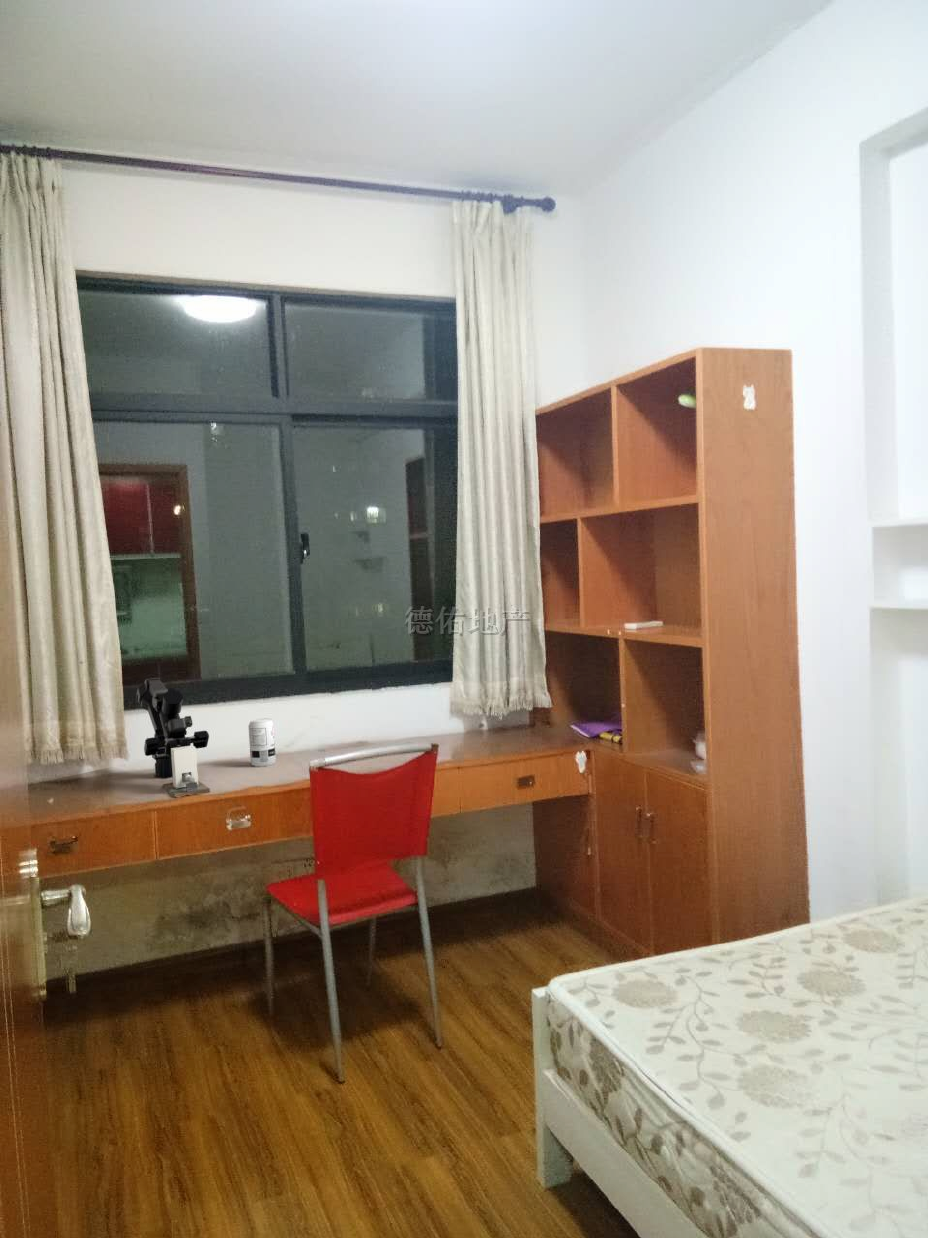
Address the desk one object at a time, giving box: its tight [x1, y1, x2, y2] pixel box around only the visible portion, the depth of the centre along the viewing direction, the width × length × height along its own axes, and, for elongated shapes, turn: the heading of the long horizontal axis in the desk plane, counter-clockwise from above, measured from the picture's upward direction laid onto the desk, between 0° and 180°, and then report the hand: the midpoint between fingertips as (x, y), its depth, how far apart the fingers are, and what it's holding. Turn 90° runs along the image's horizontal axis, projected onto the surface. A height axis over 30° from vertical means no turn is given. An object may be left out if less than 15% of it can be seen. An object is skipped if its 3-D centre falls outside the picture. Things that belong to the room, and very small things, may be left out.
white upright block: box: [171, 744, 199, 788], centre depth 263 cm, size 4×6×11 cm, turn 121°
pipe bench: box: [162, 773, 211, 798], centre depth 264 cm, size 17×10×5 cm, turn 31°
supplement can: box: [247, 718, 277, 768], centre depth 294 cm, size 8×8×15 cm
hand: (182, 765), depth 265 cm, fingers closed, pressing on white upright block
